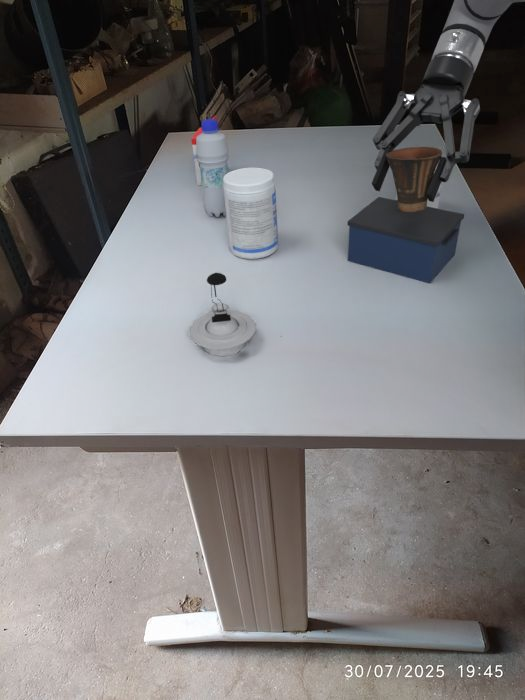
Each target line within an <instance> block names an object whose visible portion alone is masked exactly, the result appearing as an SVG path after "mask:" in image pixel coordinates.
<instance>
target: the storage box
mask: <svg viewBox="0 0 525 700" xmlns="http://www.w3.org/2000/svg"><path fill="white" fill-rule="evenodd" d="M463 219H465V213H461V212H457V211H452V210H446V209H442V208H438V209H437V208H432V207H426V209H424V210H422V211H417V212H402V211H400V210H399V209H398V201H397V200H395V199H392V198H387V197H383V196H382V197H381V196H377V198H375V199H373V200H372V202H370V203H369V204H367V205H366V206H365V207H364V208H362V209H361V210H360V211H358V212H357V213H356V214H355V215H353V216H352V217H351V218H350V219H348V220H347V225H346V226H347V227H348V226H349V228H348V247H347V262H349V263H354V264H357V265H361V266H364V267H368V268H372V269H375V270H380V271H383V272H386V273H390V274H395V275H397V276H402V277H405V278H408V279H412V280H416V281H420V282H424V283H427V284H432V282H433V281H434V280H435V279H436V277H437V276H438V275H439V274H440V273H441V271H442V270H443V269H444V268H445V267H446V266H447V264H448V263H450V261H451V260H452V259H453V258H454V256H455V255H456V250H457V245H458V239H459V234H460V229H461V223H462V221H464V220H463Z"/></svg>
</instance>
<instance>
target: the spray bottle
mask: <svg viewBox="0 0 525 700" xmlns="http://www.w3.org/2000/svg"><path fill="white" fill-rule="evenodd" d="M211 119H214V120H216V121H217V122H218V120H217V115H216V114H214V115H213V117H212V118H211ZM201 133H203V132H202V126H200V127H199V128H198V129H197V130H196V131H195V133H194V134H193V136H191V139H190V140H191V147H192V154H193V162H194V170H195V178H196V186H198V187H202V181H201V173H200V164H199V162H198V160H197V154H196V138H197V136H198V135H200V134H201Z"/></svg>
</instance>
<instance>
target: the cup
mask: <svg viewBox="0 0 525 700" xmlns="http://www.w3.org/2000/svg"><path fill="white" fill-rule="evenodd" d="M442 155H443V150H442V149H440V148H437V147H433V146H431V147H430V146H410V147H409V146H408V147H402V148H397V149H394V150H393V151H391V152H389V153H387V154H386V157H387V161H388V163H389V165H390V167H389V169H391V172H392V177H393V181H394V185H395V191H396V192H397V198H398V209H399V210H400V211H402V212H417V211H422V210H424V209H426V207H427V199H428V198H427V195H426V193H427V190H428V188H429V185H430V183H431V180H432V178H433V175H434V172H435V169H436V167H437V164H438V162H439V160H440V158H441V156H442ZM396 192H395V193H396Z"/></svg>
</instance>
